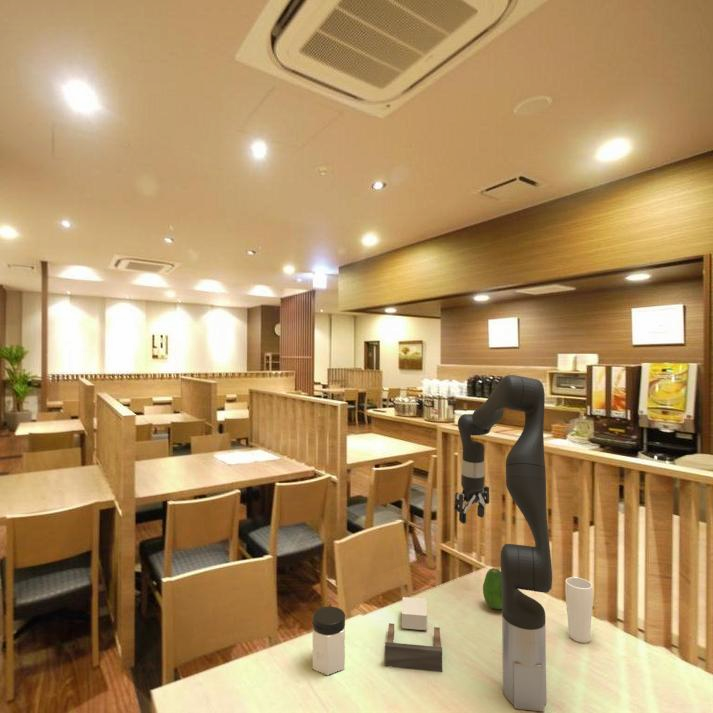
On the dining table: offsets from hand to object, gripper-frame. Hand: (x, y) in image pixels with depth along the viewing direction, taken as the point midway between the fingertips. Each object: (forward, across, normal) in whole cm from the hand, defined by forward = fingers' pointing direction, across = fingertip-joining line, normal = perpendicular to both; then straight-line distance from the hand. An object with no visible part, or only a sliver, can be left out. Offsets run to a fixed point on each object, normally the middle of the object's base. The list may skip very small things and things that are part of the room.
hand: (471, 519), depth 147 cm
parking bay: (+19, -39, -16) cm, 46 cm away
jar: (+19, -60, -8) cm, 64 cm away
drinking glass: (+20, +3, -37) cm, 42 cm away
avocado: (+22, -4, -15) cm, 26 cm away
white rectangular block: (+21, -30, -6) cm, 37 cm away
